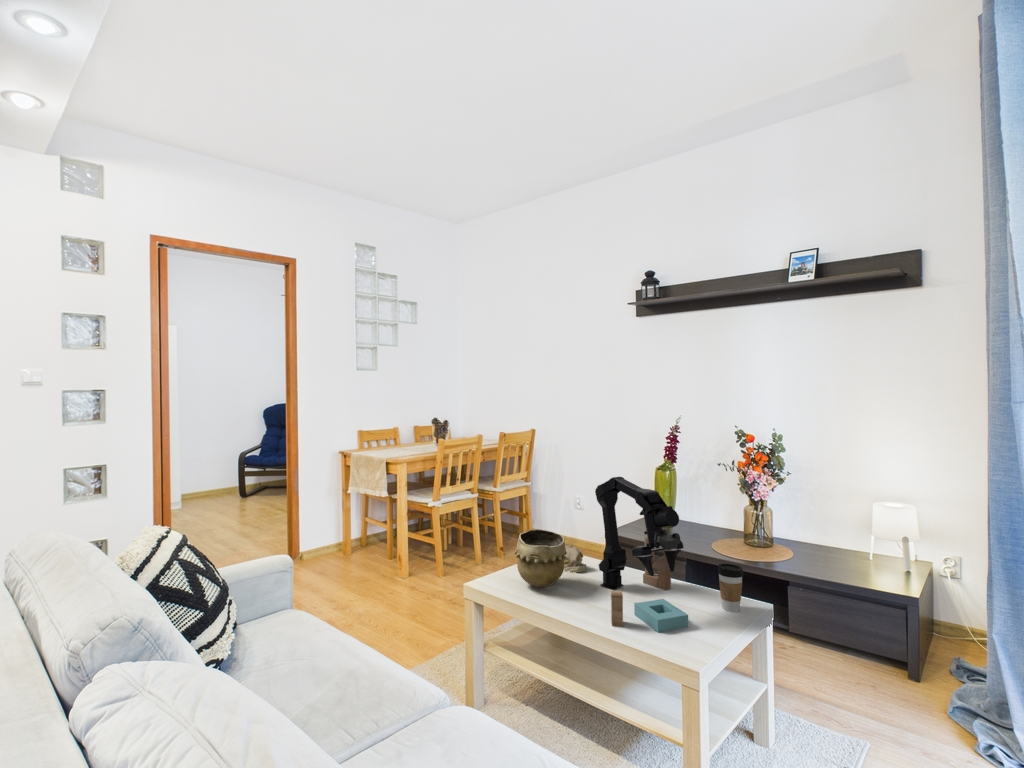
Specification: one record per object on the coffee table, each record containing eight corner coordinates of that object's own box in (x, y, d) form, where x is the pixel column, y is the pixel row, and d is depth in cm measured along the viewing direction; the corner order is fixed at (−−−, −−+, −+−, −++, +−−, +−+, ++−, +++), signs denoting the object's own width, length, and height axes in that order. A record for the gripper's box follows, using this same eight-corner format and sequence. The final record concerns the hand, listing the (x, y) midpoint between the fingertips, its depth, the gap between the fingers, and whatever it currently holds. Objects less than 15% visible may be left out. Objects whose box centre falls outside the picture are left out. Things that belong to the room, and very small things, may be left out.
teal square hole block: (634, 614, 188) (634, 603, 188) (663, 610, 192) (663, 598, 192) (657, 632, 175) (657, 619, 175) (688, 627, 178) (688, 614, 178)
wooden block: (665, 590, 210) (665, 543, 210) (642, 582, 218) (642, 537, 218) (671, 588, 212) (671, 541, 212) (648, 580, 220) (648, 535, 220)
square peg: (611, 620, 184) (611, 590, 184) (622, 621, 183) (621, 591, 183) (612, 626, 180) (611, 595, 180) (622, 626, 179) (622, 596, 179)
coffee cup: (714, 603, 197) (714, 562, 197) (738, 603, 197) (738, 562, 197) (722, 613, 188) (722, 570, 188) (747, 613, 188) (747, 570, 188)
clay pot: (579, 586, 215) (578, 535, 215) (539, 600, 201) (539, 546, 201) (542, 572, 231) (542, 524, 231) (503, 584, 217) (503, 534, 217)
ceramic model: (550, 568, 237) (550, 544, 237) (565, 561, 245) (564, 539, 245) (577, 575, 228) (577, 551, 228) (592, 568, 236) (591, 544, 236)
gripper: (648, 530, 181) (656, 579, 178) (690, 523, 190) (699, 570, 186) (627, 531, 191) (635, 578, 188) (668, 524, 199) (676, 569, 196)
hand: (662, 573), depth 189 cm, fingers open, 9 cm apart
